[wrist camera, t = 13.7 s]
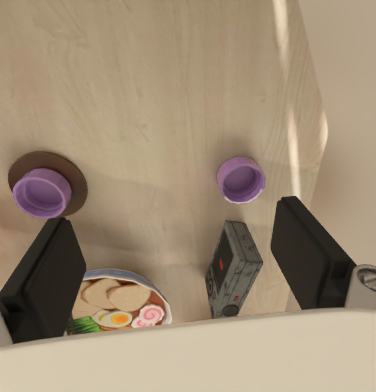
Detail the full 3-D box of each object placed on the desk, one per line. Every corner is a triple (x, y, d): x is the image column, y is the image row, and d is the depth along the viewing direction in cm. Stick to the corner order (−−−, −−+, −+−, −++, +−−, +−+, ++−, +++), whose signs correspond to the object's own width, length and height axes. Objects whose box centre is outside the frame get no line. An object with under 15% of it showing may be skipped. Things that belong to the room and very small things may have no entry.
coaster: (-4, 154, 35) (-6, 156, 35) (76, 148, 36) (75, 149, 35) (27, 218, 41) (25, 220, 40) (95, 211, 41) (94, 214, 41)
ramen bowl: (167, 323, 59) (168, 360, 52) (64, 325, 56) (50, 365, 49) (176, 241, 46) (178, 276, 39) (43, 237, 43) (20, 275, 36)
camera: (221, 284, 53) (231, 329, 45) (203, 282, 52) (210, 328, 44) (246, 222, 45) (265, 263, 37) (225, 219, 44) (239, 261, 36)
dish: (216, 157, 38) (220, 165, 35) (260, 153, 39) (267, 161, 36) (216, 195, 42) (219, 205, 39) (256, 191, 42) (262, 202, 39)
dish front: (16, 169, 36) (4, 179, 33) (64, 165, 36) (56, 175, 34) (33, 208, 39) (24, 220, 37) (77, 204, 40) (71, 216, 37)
